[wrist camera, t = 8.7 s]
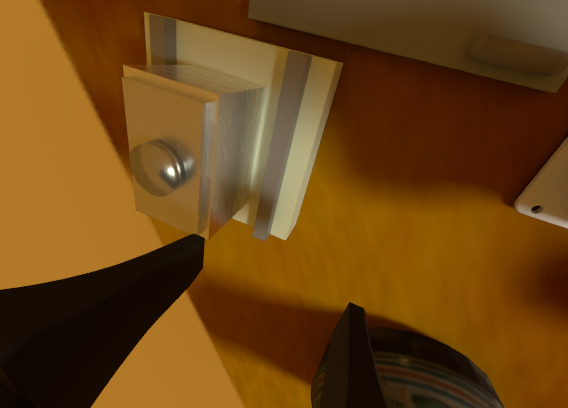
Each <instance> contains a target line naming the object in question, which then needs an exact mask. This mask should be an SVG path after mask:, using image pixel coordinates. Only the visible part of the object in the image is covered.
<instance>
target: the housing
mask: <svg viewBox="0 0 568 408" xmlns="http://www.w3.org/2000/svg"><path fill="white" fill-rule="evenodd" d="M123 71H124V77H121V78H122V87H123V96H124V105H125V114H126V123H127V133H128V142H129V151H130V155H129V165H130V169H131V172H132V178H133V188H134V197H135V206H136V210H137V211H139V212H142V213H144V214H146V215H148V216H151V217H153V218H155V219H157V220H160V221H162V222H164V223H166V224H169V225H171V226H173V227H175V228H178V229H180V230H182V231H184V232H187V233H189V234H194V233H195V234H197V235H199V236H201V237H204V238H205V239H206V240H209V239H210V238H211V237H212V236H213V235H214V234H215V233H216V232H217V231H218V230H220V229H221V228H222V227H223V226H224V225H225V224H226V223H227V222H228V221H229V220H230V219H231V218H232V217H233V216H234V215H235V214H236V213H237V212H238V211H239V210H241V209H242V208H243V207H244V206H245V205H246V204H247V203H248V199H249V193H250V187H251V181H252V175H253V169H254V163H255V157H256V151H257V145H258V139H259V133H260V126H261V120H262V114H263V108H264V102H265V96H266V90H267V87H265V86H262V85H259V84H255V83H252V82H249V81H245V80H242V79H239V78H235V77H232V76H228V75H225V74H222V73H218V72H215V71H212V70H208V69H205V68H201V67H198V66H195V65H123Z"/></svg>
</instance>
